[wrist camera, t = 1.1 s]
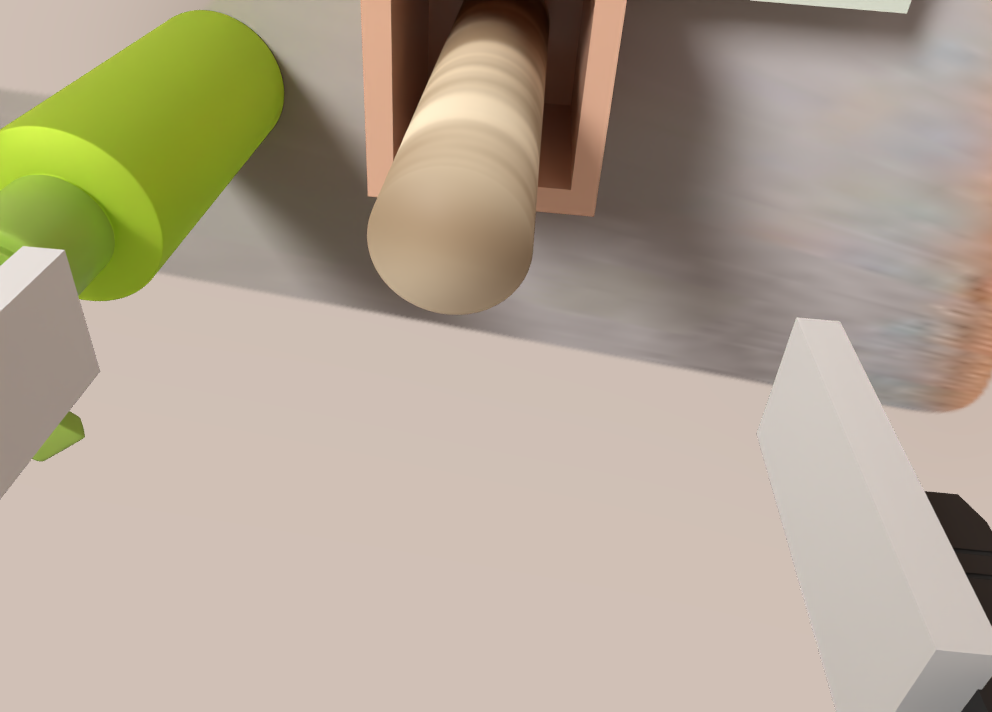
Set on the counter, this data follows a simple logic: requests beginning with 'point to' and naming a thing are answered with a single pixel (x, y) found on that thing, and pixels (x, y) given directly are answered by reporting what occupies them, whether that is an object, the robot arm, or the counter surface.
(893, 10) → the tray
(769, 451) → the robot arm
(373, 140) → the pot
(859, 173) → the counter surface
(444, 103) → the dowel
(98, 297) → the soap dispenser
